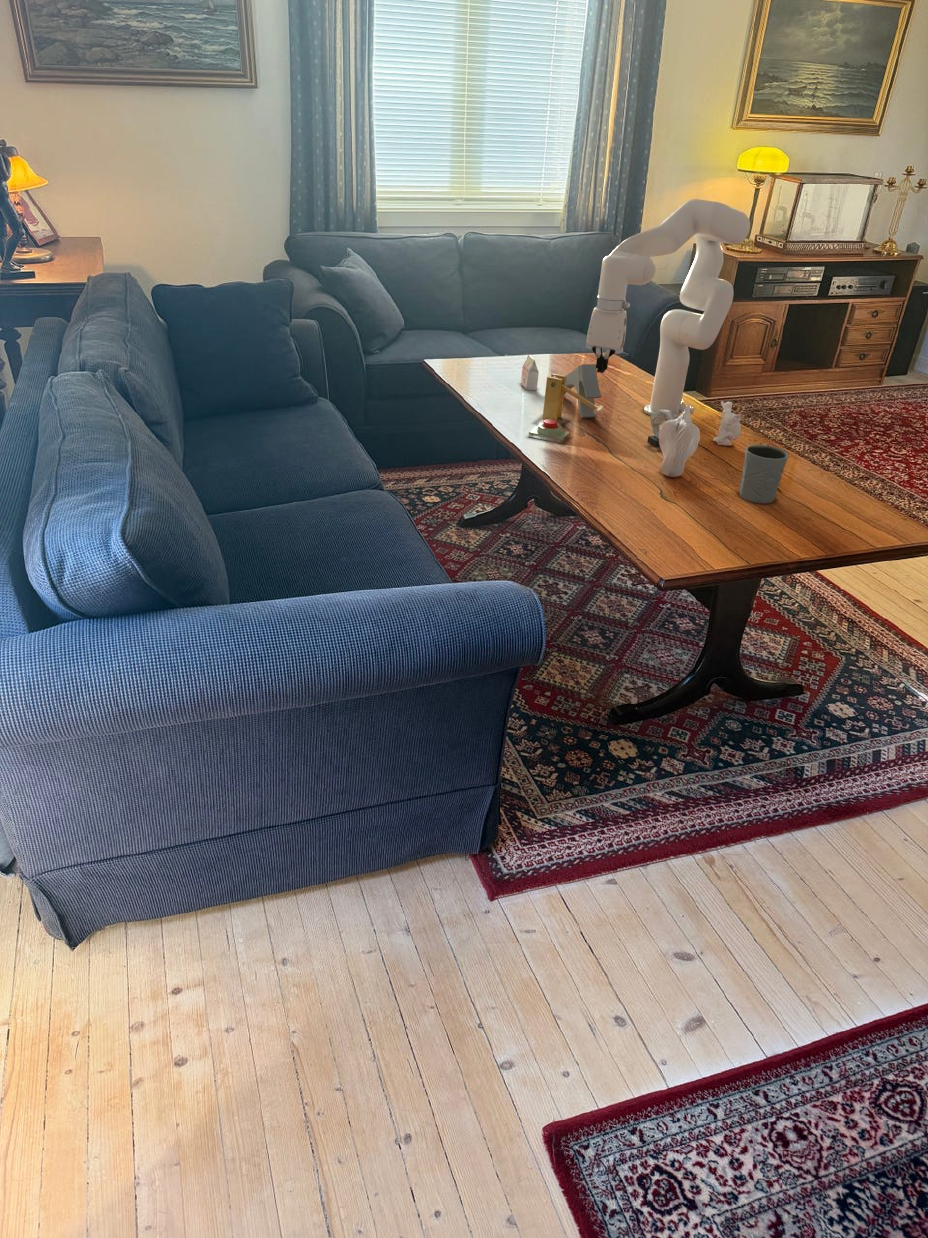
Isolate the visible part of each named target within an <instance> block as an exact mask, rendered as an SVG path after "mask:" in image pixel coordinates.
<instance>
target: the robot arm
mask: <svg viewBox="0 0 928 1238" xmlns="http://www.w3.org/2000/svg"><path fill="white" fill-rule="evenodd" d="M750 229H751V221H750V218H749V215H748V214H746V213H745V212H743V211H741V210H739V209H736V208H734V207H732V206H729V205H727V204H725V203H723V202H719V201H713V200H705V199H698V198H693V199H689V200H687V201H685V202H683V204H681V205H680V206H679V207H678V208H677V209H676V210H675V211H674V212H672V213H671V214H670V215H669V216H668V217H667V218H666V219H664V220H663V221H662V222H661V223H660V224H658V225H657V226H654V227H652V228H649V229H647V230H644V231H642V232H639V233H638V232H637V233H636V234H633V235H631V236H629V237H628V238H626V239H624V240H623V241H622V242H621V243H620V244H619V245H617V246H616V247H615V248H614V249H613V250H612V251H611V253H610V254H609V255H606V256H605V257H604V258H603V259H602V263H601V269H600V278H599V284H598V293H597V298H596V299H597V300H596V306H595V307H594V308H593V310H592V313H591V317H590V321H589V325H588V330H587V333H586V334H587V336H586V343H585V348H586V349H588V350H590V351H592V353H593V354H594V355H595V357H596V363H595V364H596V369H597V374H598V373H600V374H604V373H605V372H606V371H607V370H608V368H609V367H608V366H609V359H610V358H611V357H612V356H613V355H620V354H623V353H624V346H625V342H626V333H627V317H628V315H627V314H628V313H627V310H625V309H629V308H630V306H631V303H630V302H628V301H627V300H626V297H627V290H628V285H634V286H644V285H647V284H648V283H650V282H651V281H652V280H653V278H654V277H655V274H656V264H655V261H654V260H653V259H652V258H653V257H663V256H667V255H672V254H675V253H676V252H678V251H679V250H680V248H682V247H683V246H684V245H685V244H686V243H687V242H688V241H689V240H691V238H693V237H694V239H695V245H696V246H695V247H696V248H695V249H696V250H695V256H694V258H693V259H694V260H693V262H692V265H691V266H690V269H689V271H688V274H687V276H686V277H685V280H684V283H683V285H682V287H681V290H680V292H679V301H680V303H681V304H682V305H683V306H685V307H687V308H690V309H694V310H698V311H702V312H703V313H702V314H701V313H697V312H693V311H690V310H685V309H680V308H679V309H678V308H677V309H671V310H669V311H667V312H666V313H665V314H664V315H663V317H662V319H661V321H660V328H659V333H660V334H659V336H660V337H659V338H660V341H659V351H658V357H657V363H656V368H655V373H654V378H653V379H654V380H653V385H652V391H651V396H650V401H649V404H646V405H645V406H644V409H643V411H644V413H645V414H646V415H648V416H650V417H651V416H652V414H653V413H655V412H656V411H658V410H661V409H664V410H669V411H671V412H672V413H673V415H674V420H675V419H677V418H678V417H679V416H680V415H681V414H682V411H683V416H684V409H685V410H686V405H687V406H690V414H692V415H693V414H694V412H695V407H693V406H692V405H689V404H685V403H684V401H685V400H684V399H683V395H684V391H685V390H684V389H685V385H686V380H687V375H688V370H689V366H690V351H689V348H692V349H695V350H701V351H703V350H706V349H709V348H710V347H711V346H712V345H713V344H714V343H715V341H716V339H717V337H718V335H719V332H720V330H721V328H722V327H723V324H724V322H725V320H726V318H727V315H728V313H729V311H730V309H731V307H732V303H733V299H734V293H735V292H734V287H733V285H732V284H731V282H730V281H728V280H726V279H724V278H723V279H722V278H719V276H720V273H721V270H722V268H723V266H724V259H725V258H724V252H723V251H724V250H723V248H722V245H721V244H725V245H726V244H727V245H732V246H734V245H735V246H736V245H739V244H741V243H742V242H744V241H745V240H746V239H747V237H748V235H749V233H750ZM604 349H605V352H604V353H603V351H604Z"/></svg>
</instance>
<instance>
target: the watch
mask: <svg viewBox="0 0 928 1238" xmlns="http://www.w3.org/2000/svg"><path fill="white" fill-rule="evenodd" d="M649 420H650V427H651V430H652V433H653V435H648V436H647V441H646V442H647V443H648V444H650V445H651V446H653V447H655V448H660V445H659V431H660V426H661V425H662V424H663V423H664V422H666V420H667V421H670V420H675V419H674V415H673V413H672V412H671V411H669V410H664V409H661V410H658V411H656V412H655V413H653V414H652V416H650V417H649Z"/></svg>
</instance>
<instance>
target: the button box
mask: <svg viewBox="0 0 928 1238" xmlns="http://www.w3.org/2000/svg"><path fill="white" fill-rule="evenodd" d="M570 433H571V432H570V431H567V430H563V426H562V425H561V424H560V423H557V428H555V429H549V428H545V427H543V422H539V423H538V424H537V425H536V426H535V427H533V428H532V429H531V430H530V431H528V434H530V435H536V436H540V437H545V438H550V439H555V440H559V441H563V440H564V439H565V438H566V437H567V436H568V435H569V434H570ZM528 439H531V440H532V439H533V440H538V441H543V442H549V443H553V444H557V445H562V444H563V443H562V442H559V441H554V440H549V439H543V438H539V437H533V436H528Z"/></svg>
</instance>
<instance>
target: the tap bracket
mask: <svg viewBox="0 0 928 1238" xmlns="http://www.w3.org/2000/svg"><path fill="white" fill-rule="evenodd" d="M554 376H556V377H558V378H553V377H554ZM562 381H563V382H562ZM565 383H566V376H565V375H563V374H557V373H551V374H550V376H547V377H546V383H545V392H544V402H543V411H542V420H546V419H552V420H556V421H557V422H558V419H561V418H562V414H563V405H564V399H565V395H564V390H562V389H561V384H563V385H565Z"/></svg>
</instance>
